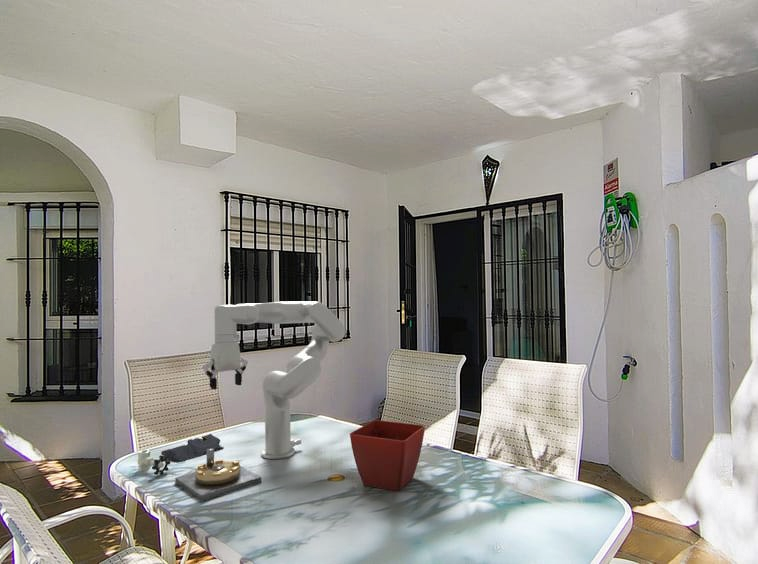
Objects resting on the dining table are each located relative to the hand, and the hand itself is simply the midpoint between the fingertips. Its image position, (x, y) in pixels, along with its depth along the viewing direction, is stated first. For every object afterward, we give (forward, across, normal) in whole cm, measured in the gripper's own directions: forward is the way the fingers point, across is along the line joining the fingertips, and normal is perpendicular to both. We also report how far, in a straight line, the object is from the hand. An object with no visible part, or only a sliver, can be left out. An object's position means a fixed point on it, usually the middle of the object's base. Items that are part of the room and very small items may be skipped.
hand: (226, 386), depth 173 cm
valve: (+29, +20, -16) cm, 38 cm away
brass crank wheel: (+26, +10, +12) cm, 30 cm away
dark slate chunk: (+29, 0, -25) cm, 39 cm away
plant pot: (+29, -27, +54) cm, 66 cm away
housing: (+28, +10, +12) cm, 32 cm away
